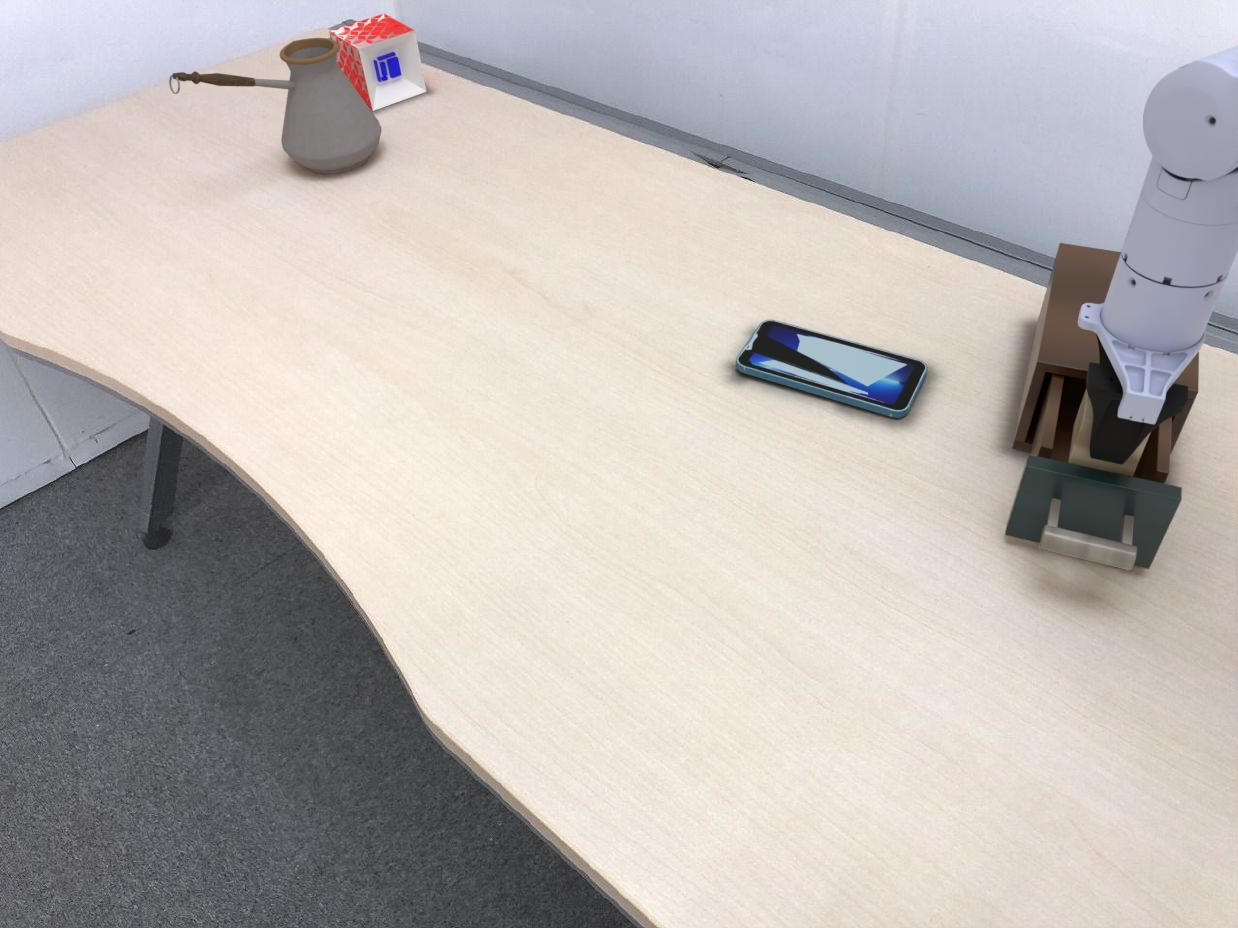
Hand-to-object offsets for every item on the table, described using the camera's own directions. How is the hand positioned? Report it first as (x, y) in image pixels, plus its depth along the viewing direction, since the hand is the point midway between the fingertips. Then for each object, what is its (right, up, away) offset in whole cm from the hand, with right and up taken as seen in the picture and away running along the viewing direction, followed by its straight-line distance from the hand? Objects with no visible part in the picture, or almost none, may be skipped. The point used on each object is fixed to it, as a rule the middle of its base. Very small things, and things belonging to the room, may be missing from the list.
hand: (1109, 435), depth 68 cm
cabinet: (+6, +4, +15) cm, 17 cm away
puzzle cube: (-63, +46, +65) cm, 102 cm away
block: (0, -1, +1) cm, 1 cm away
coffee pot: (-69, +32, +50) cm, 92 cm away
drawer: (+1, -4, +6) cm, 8 cm away
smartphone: (-15, +6, +19) cm, 25 cm away
